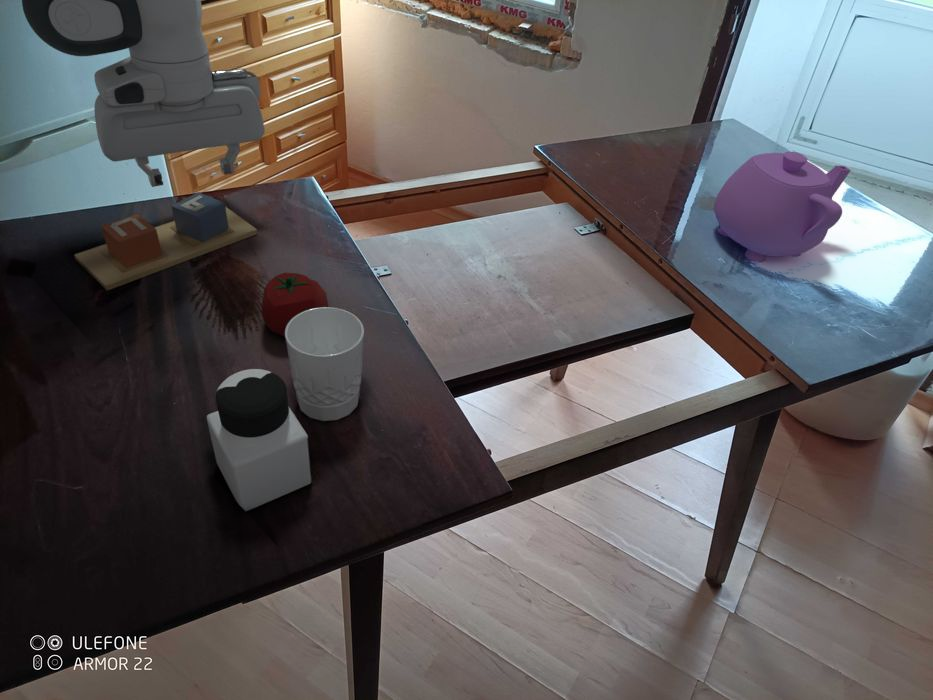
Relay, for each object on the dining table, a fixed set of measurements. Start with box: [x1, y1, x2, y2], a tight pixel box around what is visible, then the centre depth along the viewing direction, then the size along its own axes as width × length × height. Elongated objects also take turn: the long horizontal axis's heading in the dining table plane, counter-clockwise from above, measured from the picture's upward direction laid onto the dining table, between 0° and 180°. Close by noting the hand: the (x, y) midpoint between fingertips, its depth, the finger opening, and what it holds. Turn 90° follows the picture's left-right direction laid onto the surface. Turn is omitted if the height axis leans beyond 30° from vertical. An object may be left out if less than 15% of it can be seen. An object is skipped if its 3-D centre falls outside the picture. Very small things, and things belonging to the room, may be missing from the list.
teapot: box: [713, 151, 852, 263], centre depth 106 cm, size 20×20×15 cm
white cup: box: [284, 306, 365, 422], centre depth 73 cm, size 8×8×10 cm
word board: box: [73, 206, 258, 291], centre depth 95 cm, size 9×22×1 cm, turn 136°
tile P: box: [171, 191, 229, 242], centre depth 96 cm, size 5×5×4 cm
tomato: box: [261, 272, 329, 338], centre depth 83 cm, size 8×8×7 cm
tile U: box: [100, 213, 162, 268], centre depth 91 cm, size 5×5×4 cm
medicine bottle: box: [206, 368, 313, 512], centre depth 64 cm, size 7×7×12 cm
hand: (193, 178), depth 93 cm, fingers open, 8 cm apart
